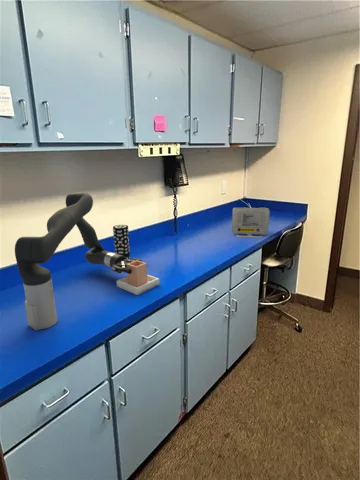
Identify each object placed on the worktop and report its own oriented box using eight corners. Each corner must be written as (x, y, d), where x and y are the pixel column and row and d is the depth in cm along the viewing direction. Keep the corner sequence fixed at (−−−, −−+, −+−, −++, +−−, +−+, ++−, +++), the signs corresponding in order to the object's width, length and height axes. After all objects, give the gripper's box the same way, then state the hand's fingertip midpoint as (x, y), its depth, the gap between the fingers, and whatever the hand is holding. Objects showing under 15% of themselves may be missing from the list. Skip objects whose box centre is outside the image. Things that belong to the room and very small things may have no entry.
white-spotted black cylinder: (112, 260, 177) (110, 226, 171) (124, 256, 183) (122, 224, 177) (120, 263, 171) (118, 229, 165) (133, 260, 177) (131, 226, 171)
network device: (266, 234, 226) (268, 207, 220) (268, 237, 217) (270, 210, 212) (231, 233, 229) (232, 207, 223) (231, 236, 221) (232, 209, 215)
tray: (137, 295, 135) (137, 288, 134) (116, 286, 143) (116, 280, 142) (159, 284, 145) (159, 278, 144) (138, 277, 154) (138, 271, 153)
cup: (137, 287, 140) (136, 267, 137) (128, 284, 143) (126, 264, 141) (147, 283, 144) (146, 263, 141) (138, 279, 148) (137, 260, 145)
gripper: (102, 257, 145) (125, 265, 135) (125, 250, 156) (148, 256, 146) (104, 272, 147) (126, 281, 137) (126, 263, 158) (149, 271, 148)
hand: (137, 268), depth 142 cm, fingers open, 8 cm apart
